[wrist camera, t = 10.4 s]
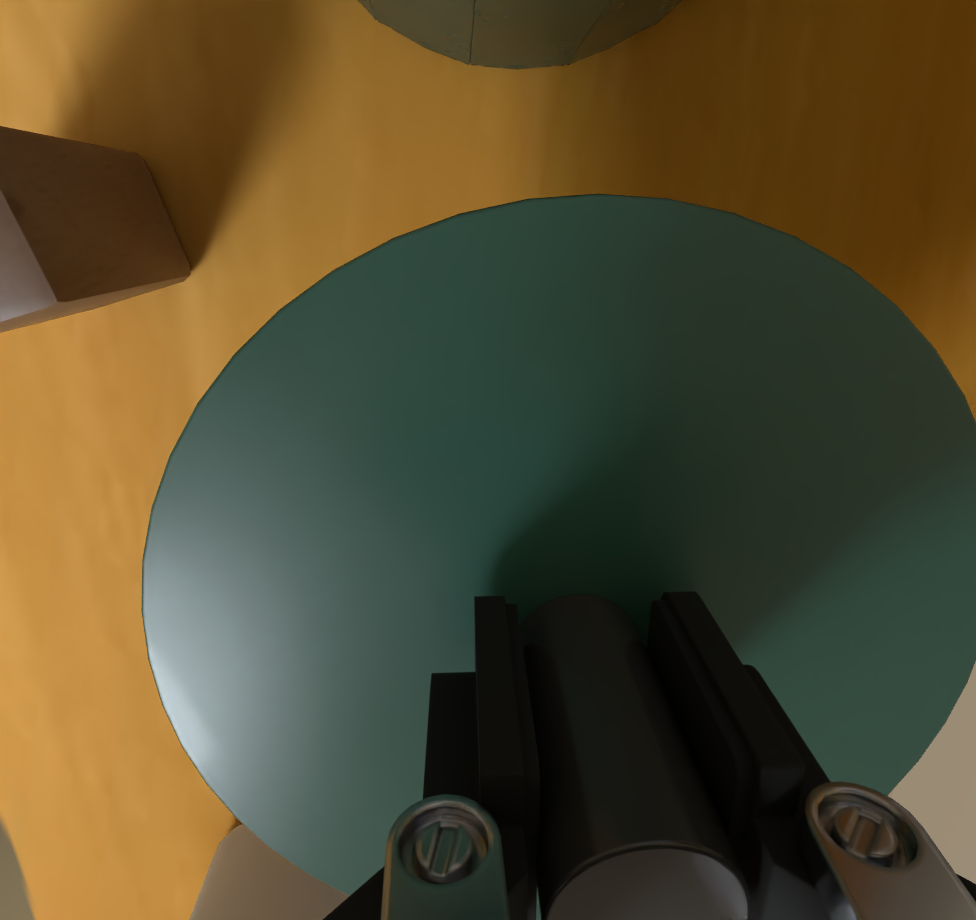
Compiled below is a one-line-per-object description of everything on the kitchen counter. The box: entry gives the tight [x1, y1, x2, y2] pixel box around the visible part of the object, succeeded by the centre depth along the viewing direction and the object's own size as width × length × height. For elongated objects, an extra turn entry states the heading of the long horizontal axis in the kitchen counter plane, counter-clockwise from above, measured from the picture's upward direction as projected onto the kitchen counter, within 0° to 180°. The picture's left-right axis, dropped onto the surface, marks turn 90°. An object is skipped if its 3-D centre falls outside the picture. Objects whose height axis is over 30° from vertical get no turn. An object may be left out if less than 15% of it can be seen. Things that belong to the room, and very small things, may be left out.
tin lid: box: [142, 194, 976, 920], centre depth 10 cm, size 16×16×6 cm
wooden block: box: [0, 126, 191, 333], centre depth 17 cm, size 4×4×8 cm
